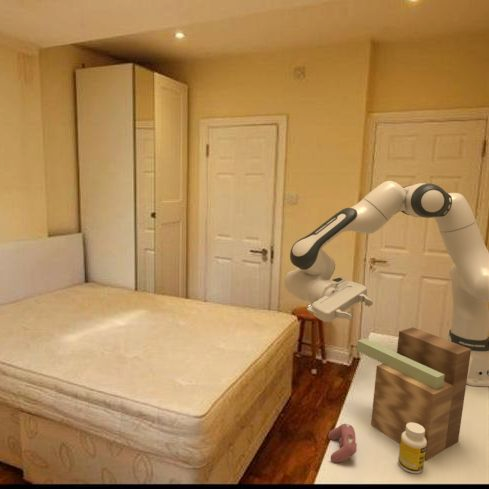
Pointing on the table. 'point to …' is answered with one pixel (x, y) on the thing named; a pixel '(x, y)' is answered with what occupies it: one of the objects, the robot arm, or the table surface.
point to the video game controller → (343, 442)
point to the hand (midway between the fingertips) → (361, 310)
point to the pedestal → (423, 391)
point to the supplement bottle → (412, 448)
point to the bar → (401, 363)
